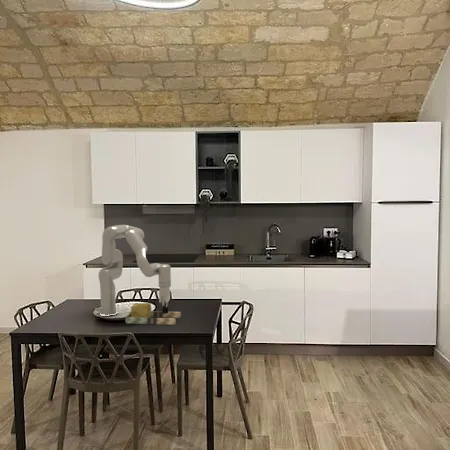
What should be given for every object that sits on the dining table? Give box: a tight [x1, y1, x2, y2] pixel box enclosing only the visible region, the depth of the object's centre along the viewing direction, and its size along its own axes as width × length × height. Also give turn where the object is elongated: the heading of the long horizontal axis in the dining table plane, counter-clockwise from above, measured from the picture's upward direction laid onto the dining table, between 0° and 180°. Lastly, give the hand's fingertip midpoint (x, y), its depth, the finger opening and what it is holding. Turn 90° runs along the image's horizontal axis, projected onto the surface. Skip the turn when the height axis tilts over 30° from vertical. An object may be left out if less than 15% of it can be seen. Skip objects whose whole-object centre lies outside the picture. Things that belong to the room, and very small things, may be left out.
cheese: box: [130, 302, 152, 318], centre depth 302 cm, size 10×11×10 cm
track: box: [125, 310, 182, 326], centre depth 302 cm, size 31×16×4 cm, turn 83°
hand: (165, 313), depth 301 cm, fingers closed
